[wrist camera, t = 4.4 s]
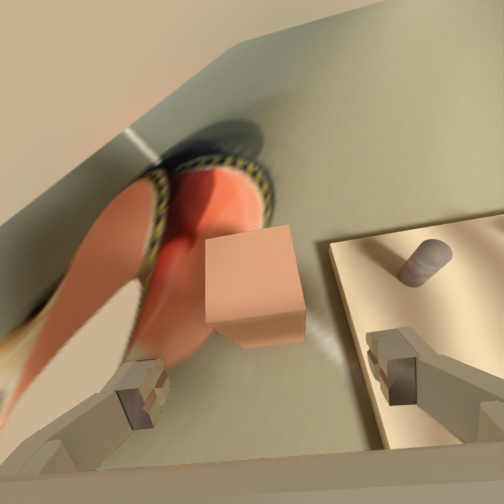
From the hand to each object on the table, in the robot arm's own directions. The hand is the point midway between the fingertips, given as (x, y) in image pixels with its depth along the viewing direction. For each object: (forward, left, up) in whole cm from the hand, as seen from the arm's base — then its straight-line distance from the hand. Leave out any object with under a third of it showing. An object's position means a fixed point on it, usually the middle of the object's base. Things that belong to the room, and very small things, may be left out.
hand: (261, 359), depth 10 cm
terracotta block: (0, +4, -8) cm, 9 cm away
